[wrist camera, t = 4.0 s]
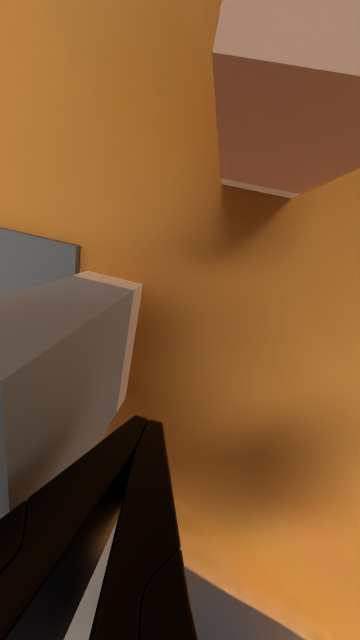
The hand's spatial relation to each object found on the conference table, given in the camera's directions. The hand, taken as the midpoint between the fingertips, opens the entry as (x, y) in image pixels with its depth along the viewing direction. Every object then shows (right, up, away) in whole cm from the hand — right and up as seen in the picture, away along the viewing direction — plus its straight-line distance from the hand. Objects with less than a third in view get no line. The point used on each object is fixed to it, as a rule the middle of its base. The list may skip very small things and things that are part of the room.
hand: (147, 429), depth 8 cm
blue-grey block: (-2, +2, +5) cm, 6 cm away
